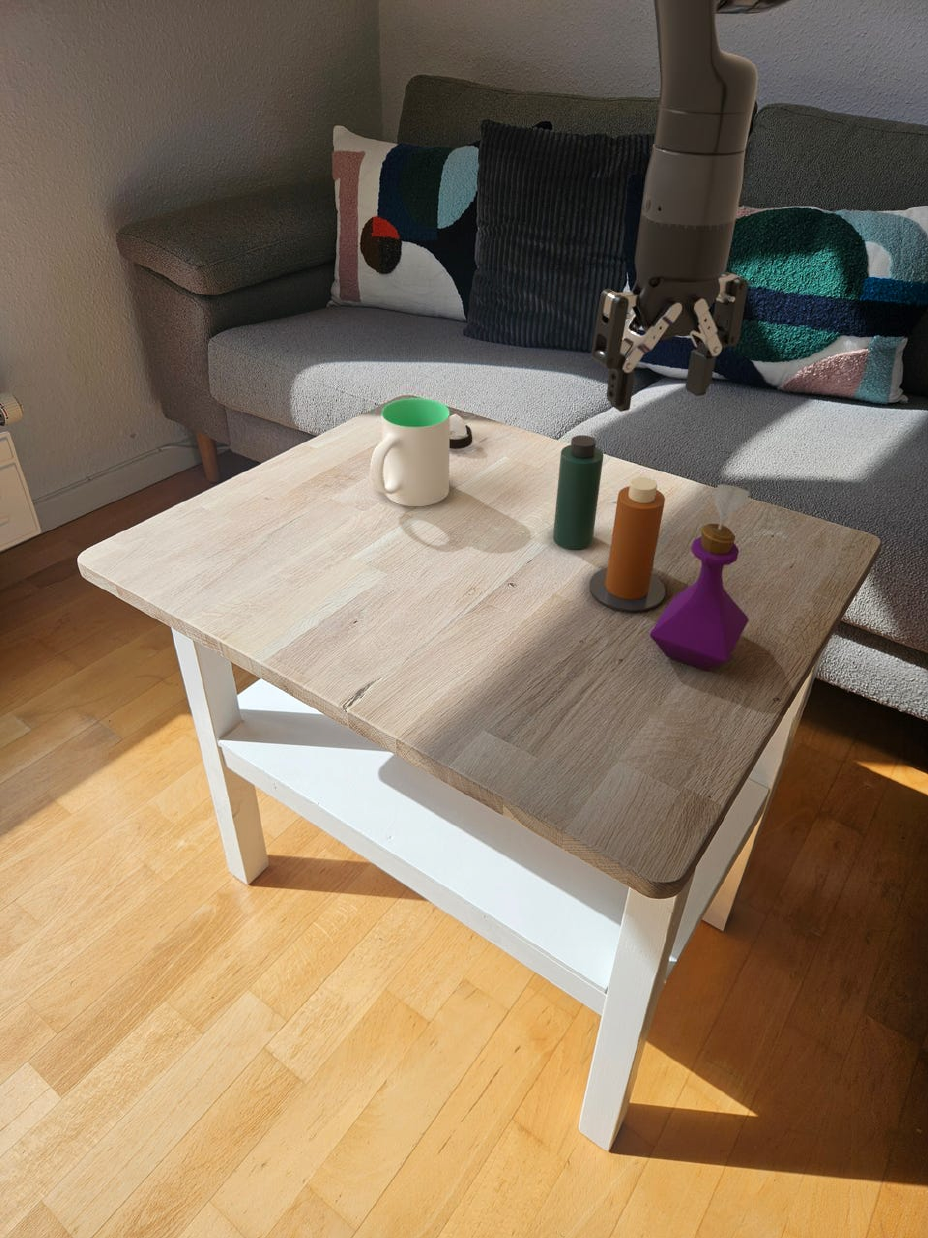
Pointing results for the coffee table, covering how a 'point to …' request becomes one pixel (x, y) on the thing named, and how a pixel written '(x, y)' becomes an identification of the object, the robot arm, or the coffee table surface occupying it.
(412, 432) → the mug
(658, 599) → the slate coaster
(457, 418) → the watch
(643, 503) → the amber bottle
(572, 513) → the green bottle
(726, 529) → the perfume bottle
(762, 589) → the coffee table surface
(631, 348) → the robot arm
